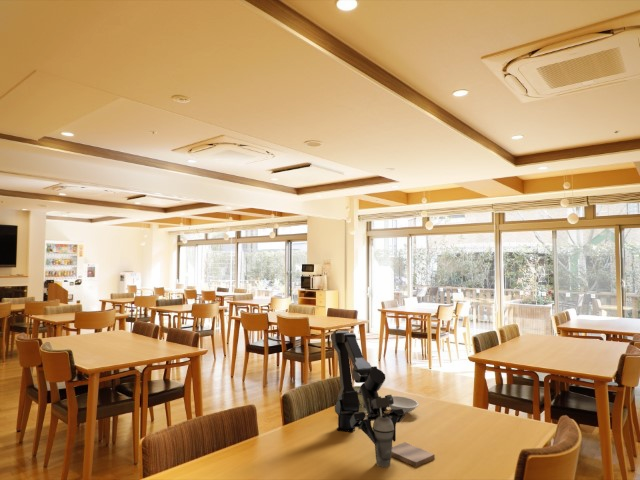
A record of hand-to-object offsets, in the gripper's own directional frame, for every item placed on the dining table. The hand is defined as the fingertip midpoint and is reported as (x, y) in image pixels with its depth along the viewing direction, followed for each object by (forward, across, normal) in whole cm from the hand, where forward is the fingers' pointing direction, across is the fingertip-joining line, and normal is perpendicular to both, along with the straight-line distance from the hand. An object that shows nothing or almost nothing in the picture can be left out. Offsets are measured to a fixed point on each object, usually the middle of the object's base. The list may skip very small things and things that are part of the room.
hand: (385, 442), depth 142 cm
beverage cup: (+4, 0, +6) cm, 8 cm away
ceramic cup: (-32, +15, +43) cm, 56 cm away
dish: (-27, +31, +38) cm, 56 cm away
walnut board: (+2, +12, +8) cm, 15 cm away
